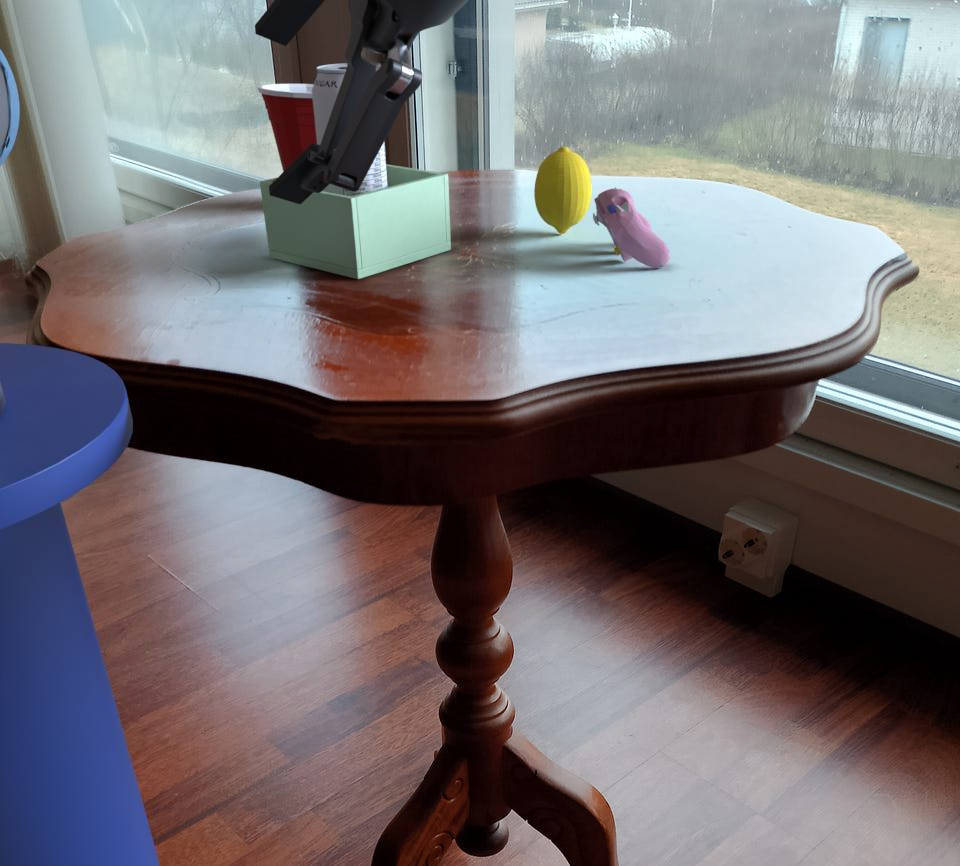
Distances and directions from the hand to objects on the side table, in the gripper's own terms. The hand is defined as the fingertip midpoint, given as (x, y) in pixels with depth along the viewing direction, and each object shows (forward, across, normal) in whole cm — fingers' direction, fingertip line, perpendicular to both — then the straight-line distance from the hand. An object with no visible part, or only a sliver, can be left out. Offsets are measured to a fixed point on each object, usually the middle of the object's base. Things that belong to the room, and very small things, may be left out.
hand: (277, 115), depth 84 cm
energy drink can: (+11, -2, -15) cm, 18 cm away
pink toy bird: (-7, -7, -32) cm, 34 cm away
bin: (+11, -3, -15) cm, 19 cm away
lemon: (+1, -1, -33) cm, 33 cm away
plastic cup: (+27, +12, -22) cm, 36 cm away
